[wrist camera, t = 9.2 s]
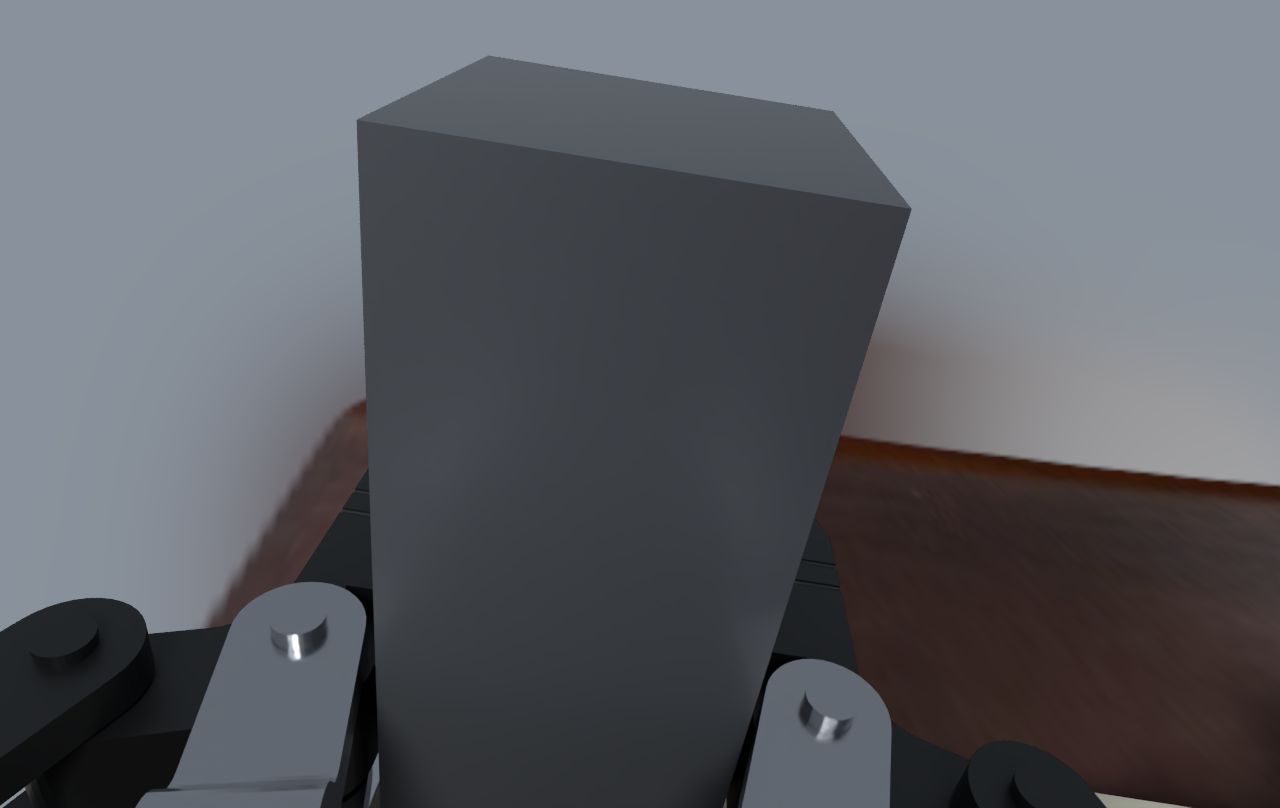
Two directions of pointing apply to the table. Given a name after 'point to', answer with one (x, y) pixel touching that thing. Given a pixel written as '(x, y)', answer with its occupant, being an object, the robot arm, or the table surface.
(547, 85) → the strap handle
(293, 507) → the table surface
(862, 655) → the table surface
